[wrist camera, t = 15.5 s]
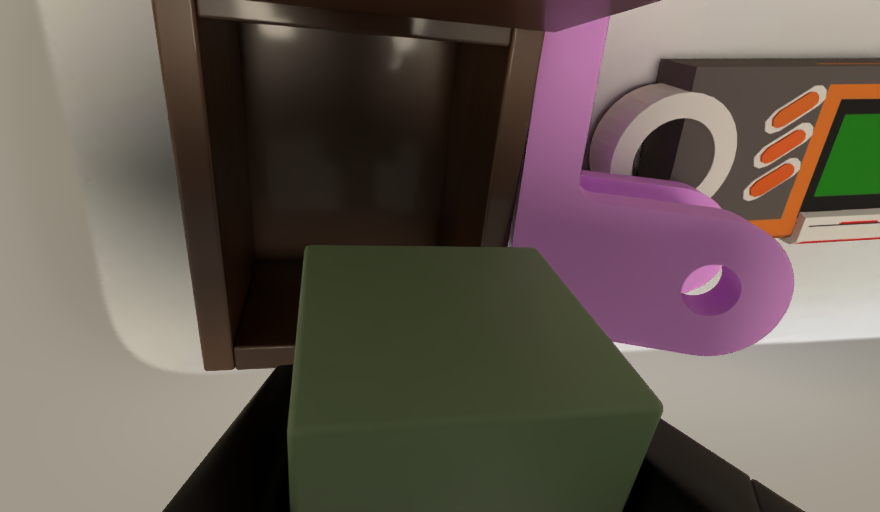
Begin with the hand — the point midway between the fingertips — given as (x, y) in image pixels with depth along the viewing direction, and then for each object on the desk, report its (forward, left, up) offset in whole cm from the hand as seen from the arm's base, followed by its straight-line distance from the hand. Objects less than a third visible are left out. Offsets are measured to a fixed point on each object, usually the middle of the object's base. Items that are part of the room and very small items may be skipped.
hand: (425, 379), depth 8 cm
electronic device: (-9, -12, -11) cm, 19 cm away
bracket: (0, -6, -8) cm, 10 cm away
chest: (+1, 0, -11) cm, 11 cm away
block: (0, 0, -1) cm, 1 cm away
